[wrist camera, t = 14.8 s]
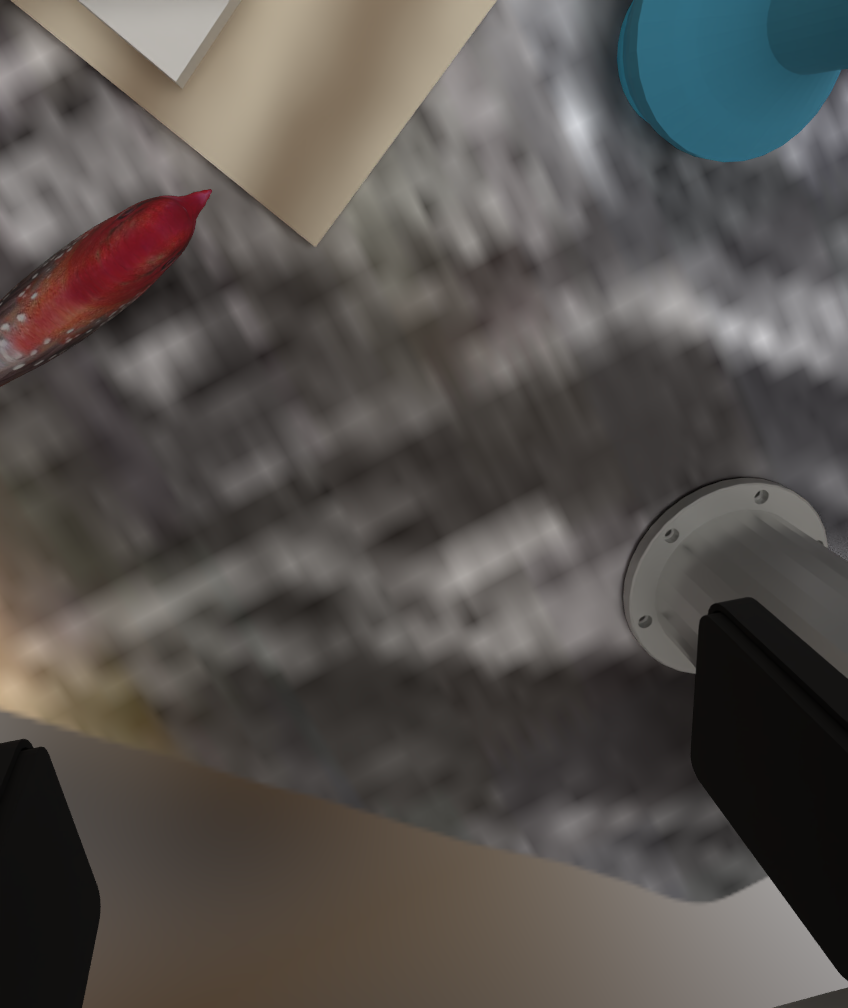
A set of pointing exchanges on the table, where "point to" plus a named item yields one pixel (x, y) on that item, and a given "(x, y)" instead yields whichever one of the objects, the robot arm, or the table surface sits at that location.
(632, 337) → the table surface
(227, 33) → the board
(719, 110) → the perfume bottle
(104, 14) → the block
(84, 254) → the decorative bird figurine
